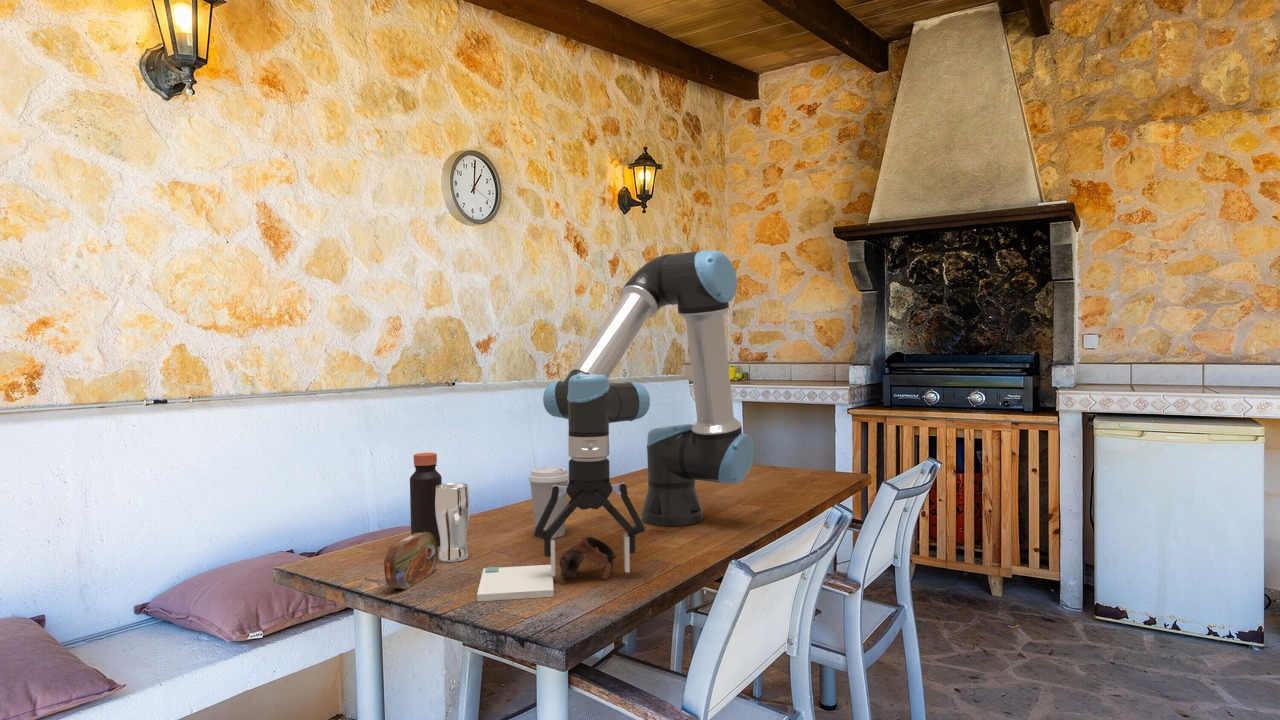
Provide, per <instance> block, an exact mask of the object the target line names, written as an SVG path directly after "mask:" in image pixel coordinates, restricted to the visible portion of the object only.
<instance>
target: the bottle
mask: <svg viewBox="0 0 1280 720" xmlns="http://www.w3.org/2000/svg"><path fill="white" fill-rule="evenodd" d="M437 463H438V454H437V452H436V453H435V452H421V453H420V452H419V453H415V454H413V465H414V466H413V467H414V469H415V470H414V473H412V475H411V476H410V477H409V497H410V498H409V501H410V503H409V506H410V507H409V508H410V536H411V535H413V534H415V533H424V532H430V533H431V534H433V536H434V537H435V539H436V542H437V547H440V537H439V532H438V527H437V522H436V516H435V490H436V488H435V487H436V486H437V485H441V484H443V481H442V480H443V479H442V475H441V474H440V473H439V472H438V471H437V470H436V467H437V466H438V465H437Z"/></svg>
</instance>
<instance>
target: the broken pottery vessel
mask: <svg viewBox="0 0 1280 720" xmlns="http://www.w3.org/2000/svg"><path fill="white" fill-rule="evenodd" d="M596 548H597V549H596ZM584 554H585V555H584ZM584 557H585V558H587V559H589V560H591V562H592V561H593V562H596V563H597V564H599V566H600V565H601V566H603V573H602V575H601V578H602V579H603V580H605V579H606V580H608V578H609V577H610V576H611V573H613V572H614V567H615V565H614V564H615V563H614V560H615V558H616V553H615V552H614V550H613V549H612V548H611V547H610V546H609V545H607V543H605V542H604V541H602V540H600V539H597V538H596V537H593V536H590V535H589V536H588V535H586V536H583V537H582V538H581V540H580V541H577V542H574V544H572V545H571V546H570V547H569V549H568V550H566V551H565V552H563V553H562V555H561V556H560V558H559V568H560V570H561V571H560V576H561V578H562V580H565V579H566V578H569V579H570V578H571V579H575V578H576V577H577V572H578V570H579V567H581V565H582V563H583V560H584Z"/></svg>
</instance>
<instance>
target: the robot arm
mask: <svg viewBox="0 0 1280 720" xmlns="http://www.w3.org/2000/svg"><path fill="white" fill-rule="evenodd" d="M736 273H737V272H736V269H735V267H734V265H733V263H732V261H731V260H730V259H729V258H728V255H726V254H725V253H724V252H722V251H719V250H703V249H702V250H697V251H690V252H680V253H672V254H670V253H668V254H663V255H660V256H657V257H655V258H652V259H651V260H649V261H648V262H647V263H645V264H644V265H642V266H641V267H640V268H639V269H638V270H637V271H636V272H634V274H632V275H631V277H630V278H629V279H628V281H626V283H625V284H624V285H623V287H622V289H621V290H620V291H619V300H618V302H617V303H616V305H615V306H614V307H613V309H612V310H611V312H610V313H609V315H608V316H607V318H606V319H605V320H604V322H603V323H602V324H601V326H600V328H599V329H598V330H597V332H596V333H595V335H594V336H593V338H592V339H591V341H590V342H589V344H588V346H586V348H585V350H584V351H583V352H582V354H581V356H580V357H579V358H578V359H577V361H576V363H575V364H574V365H573V366H572V368H571V370H570V371H569V372H568V374H567V375H566V377H565V379H564V380H563V381H562V380H557V381H552V382H551V383H549V384H548V385H547V386H546V388H545V390H544V392H543V394H542V395H543V396H542V401H543V402H542V403H543V407H544V409H545V410H546V412H547V413H548V414H549V415H550V416H552V417H554V418H556V417H557V418H559V419H560V418H561V419H565V420H568V435H567V437H568V441H567V442H568V444H567V445H568V457H570V458H571V459H569V460H568V474H569V480H568V485H567V486H558V485H557V484H554V485H553V486H552V493H551V497H550V499H549V501H548V503H547V505H546V507H545V509H544V511H543V513H542V515H541V518H540V520H539V522H538V524H537V526H536V528H535V527H534V530H533V531H534V536H535V538H539V537H540V538H539V539H543V542H544V543H543V545H544V546H543V547H544V548H543V549H544V553H543V554H544V557H545V558H550V565H551V576H553V577H556V540H555V539H556V538H555V537H552V536H553V535H554V534H555V532H556V531H557V530H558V529H559V528H560V526H561V525H562V524H563V523H564V522H565V523H566V521H567V519H568V518H569V517H570V516H571V514H572V513H574V512H575V510H576V509H577V508H578V509H581V510H582V511H583V510H588V509H592V510H598V509H600V508H601V507H603V508H604V509H605V510H606V511H607V512H608V513H609V514H610V516H612V518H613V519H614V520H615V521H616V522H617V523H618V525H619V526H620V527H621V528H622V529H623V530H624V531H625V532H626V533H623V570H624V572H625V573H630V571H631V567H630V565H631V564H630V563H631V561H630V559H631V558H630V555H631V554H635V552H636V536H637V535H638V534H641V533H644V532H645V531H646V528H645V525H644V524H643V523H645V524H649V525H652V526H660V527H682V526H689V525H694V524H698V523H700V522H702V521H703V519H704V514H703V513H704V512H703V511H704V510H703V507H702V504H701V501H700V498H699V495H698V492H697V490H696V489H697V488H696V481H702V482H703V481H704V482H710V483H719V484H734V485H735V484H738V483H741V482H742V481H744V479H746V477H747V475H748V474H749V472H750V470H751V468H752V464H753V462H754V461H753V460H754V456H755V453H754V452H755V447H754V446H755V445H754V441H753V439H752V437H751V436H750V435H749V434H748V433H747V434H746V433H745V432H744V433H743V429H742V423H741V422H740V421H739V420H738V419H736V418H735V414H734V405H733V396H732V387H731V385H732V384H731V377H730V367H729V360H728V359H729V358H728V348H727V347H728V346H727V338H726V337H727V336H726V330H725V319H724V318H725V317H724V316H725V314H726V313H727V312H728V310H729V309H730V304H729V302H730V301H732V300H734V298H735V296H736V295H737V289H738V279H737V278H738V277H737V274H736ZM670 305H677V314H678V315H679V316H680V317H681V318H682V319H684V320H685V326H686V333H687V343H688V352H689V353H688V354H689V361H690V366H691V367H690V369H691V376H692V387H693V394H694V405H695V413H696V422H695V423H694V424H688V423H687V424H677V425H668V426H661V427H655V428H652V429H650V430H649V432H648V434H647V441H646V443H647V444H646V452H647V453H646V454H647V491H646V494H645V498H644V502H643V505H642V508H641V515H640V516H641V518H640V516H639V515H638V513H637V510H636V509H635V507H634V505H633V502H632V500H631V499H630V497H629V495H628V488H627V484H626V483H625V482H624V481H620V482H618V483H614V484H612V483H611V479H610V460H609V458H607V457H608V456H610V424H611V423H620V422H632V421H633V422H634V421H636V420H639V419H642V418H643V417H644V416H645V415H646V414H647V413H648V411H649V409H650V404H651V403H650V402H651V401H650V400H651V397H650V393H649V392H648V390H647V388H646V387H645V386H644V385H643V384H641V383H639V382H631V381H625V382H609V378H610V376H611V375H612V373H613V372H614V370H615V369H616V368H617V366H618V364H619V362H620V361H621V359H622V358H623V357H624V355H625V353H626V352H627V350H628V349H629V347H630V345H631V344H632V342H633V341H634V339H635V338H636V336H637V335H638V333H639V332H640V330H641V329H642V327H643V326H644V324H645V323H646V321H647V320H648V319H650V318H653V317H654V316H655V315H656V314H657V313H658V310H660V309H662V308H663V307H665V306H666V307H667V306H670ZM613 492H615V494H616V495H617V496H619V497H620V498H621V500H622V502H623V503H624V505H625V507H626V509H627V511H628V513H629V516H630V518H631V519H632V521H633V523H634V526H632V525H631V524H630V523H629V522H628V521H627V520H626V518H624V516H623V514H621V513H620V512H619V511H618V509H617V508H616V507H615V506H614V505H613V504H612V503H611V502H610V500H609V499H608V498H609V497H610V496H611V494H612V493H613ZM564 493H567V496H568V497H569V498H570V500H569V501H568V503H566V507H565V508H564V509H563V510H562V512H561V513H560V514H559V515H558V517H557V518H556V519H555V520H554V521H553V523H552V524H551V525H550V526H549V527H548V529H547V530H543V529H544V527H545V525H546V523H547V521H548V519H549V517H550V515H551V513H552V511H553V509H554V507H555V505H556V503H557V500H558V498H561V497H562V495H563V494H564Z"/></svg>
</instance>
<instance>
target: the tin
mask: <svg viewBox="0 0 1280 720" xmlns="http://www.w3.org/2000/svg"><path fill="white" fill-rule="evenodd" d="M438 556H439V550H438V546H437V542H436V539H435V537H434V536H433V534H431V533H430V532H424V533H415V534H413V535H411V534H410V535H409V536H406V537H404V538H402V539H401V540H399V541H397V542H395V543H393V544H392V545H391V546H390V547H389V548H388V549H387V551H386V553H385V556H384V561H383V565H384V566H383V567H384V569H383V570H384V577H385V582H386V584H387V585H388V587H390V588H391V589H397V590H398V589H401V590H409V589H410V588H411V586H412V587H414V586H415V585H417V584H418V583H420V582H422V581H423V580H424V578H425V579H426V578H428V577H430V576H431V574H433V572H434V570H435V569H436V566H437V562H438ZM427 576H428V577H427ZM419 581H420V582H419ZM417 582H418V583H417ZM416 583H417V584H416ZM414 584H415V585H414ZM413 585H414V586H413ZM409 587H410V588H409ZM408 588H409V589H408Z"/></svg>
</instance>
